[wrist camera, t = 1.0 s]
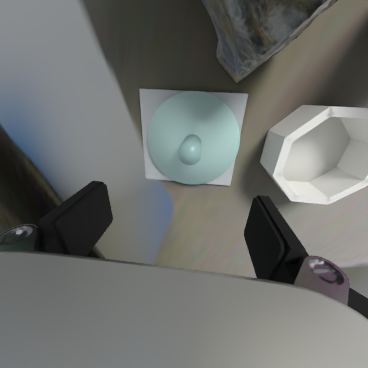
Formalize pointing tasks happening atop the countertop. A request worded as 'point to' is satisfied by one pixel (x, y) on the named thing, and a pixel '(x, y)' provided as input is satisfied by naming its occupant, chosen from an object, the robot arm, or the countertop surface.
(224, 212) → the countertop surface
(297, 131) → the bowl
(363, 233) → the countertop surface
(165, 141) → the lid
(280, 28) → the fossil rock
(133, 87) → the countertop surface
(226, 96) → the mat
